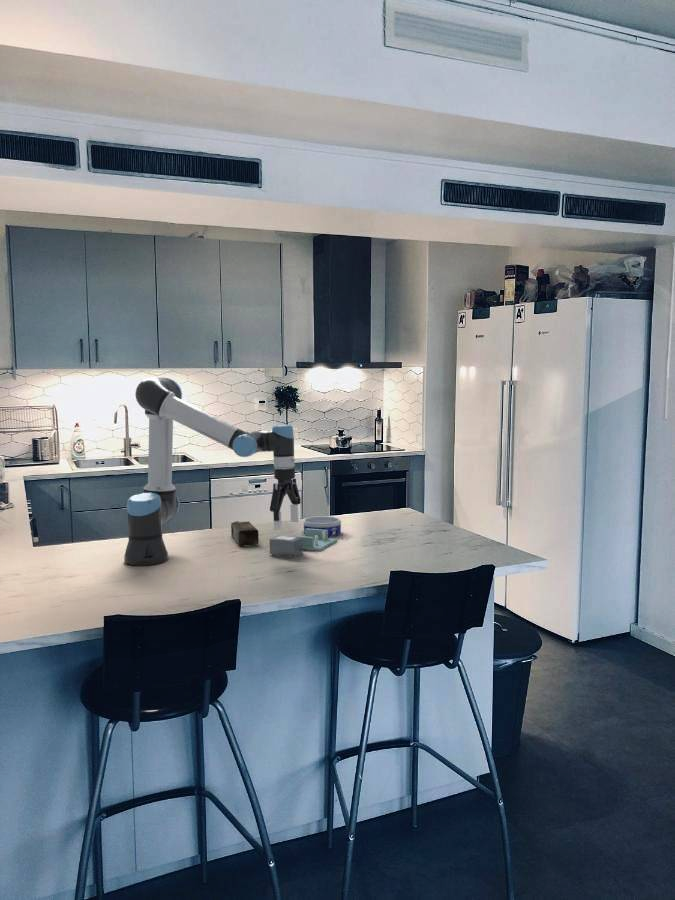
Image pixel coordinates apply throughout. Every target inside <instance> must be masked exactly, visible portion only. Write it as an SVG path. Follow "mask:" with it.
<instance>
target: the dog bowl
mask: <svg viewBox="0 0 675 900" xmlns="http://www.w3.org/2000/svg"><path fill="white" fill-rule="evenodd" d="M306 528H309V529H322V530H328V538H334V537H335V538H336V537H338V536H339V535H341V532H342V531H341V530H342V529H341V528H342V519H340V518H339V517H338V516H337V517H336V516H329V515H320V516H319V515H317V516H309V517H307V518H304V519H303V530H304V536H305V529H306Z"/></svg>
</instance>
